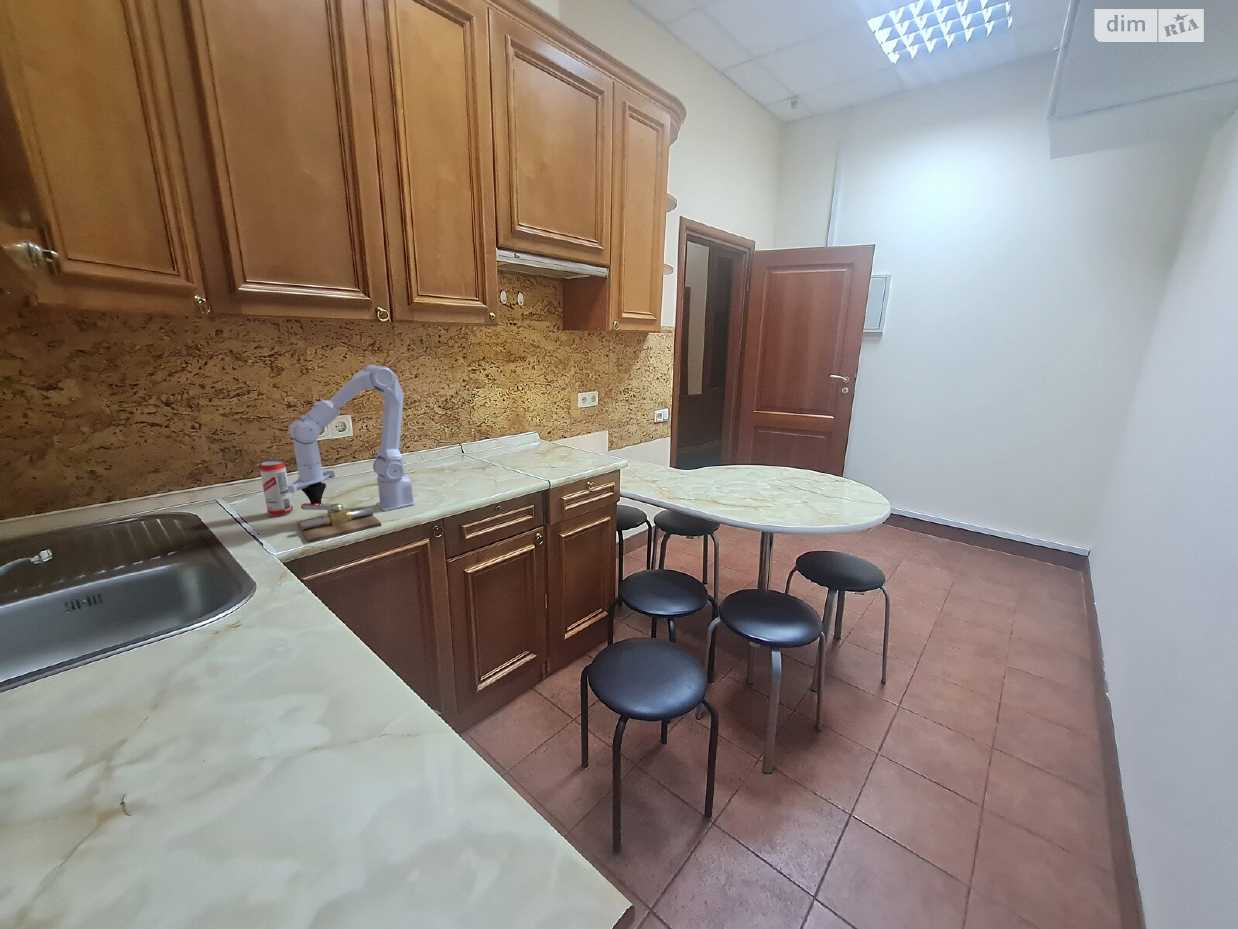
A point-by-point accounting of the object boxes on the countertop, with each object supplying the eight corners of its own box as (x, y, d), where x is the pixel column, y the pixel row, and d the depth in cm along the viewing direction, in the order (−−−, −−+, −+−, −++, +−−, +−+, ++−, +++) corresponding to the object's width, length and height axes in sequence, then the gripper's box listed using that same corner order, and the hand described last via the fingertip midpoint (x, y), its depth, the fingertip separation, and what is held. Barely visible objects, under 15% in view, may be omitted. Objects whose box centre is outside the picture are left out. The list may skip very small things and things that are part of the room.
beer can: (280, 518, 141) (271, 466, 136) (263, 516, 142) (253, 464, 138) (298, 510, 147) (289, 460, 142) (281, 508, 148) (272, 459, 144)
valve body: (370, 514, 144) (368, 500, 143) (374, 518, 141) (372, 504, 140) (300, 529, 132) (298, 515, 131) (303, 534, 129) (301, 519, 128)
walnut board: (365, 510, 148) (364, 507, 148) (381, 525, 137) (380, 522, 136) (296, 524, 136) (296, 521, 136) (308, 543, 125) (307, 539, 125)
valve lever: (343, 508, 137) (343, 502, 136) (338, 511, 134) (337, 505, 134) (305, 507, 136) (303, 501, 136) (299, 511, 134) (298, 505, 134)
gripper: (317, 455, 141) (324, 498, 144) (274, 469, 127) (283, 516, 131) (338, 457, 139) (344, 500, 143) (296, 471, 126) (305, 518, 129)
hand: (316, 508), depth 137 cm, fingers closed, pressing on valve lever
